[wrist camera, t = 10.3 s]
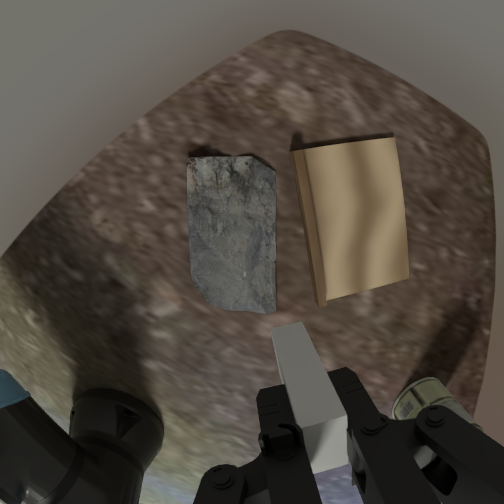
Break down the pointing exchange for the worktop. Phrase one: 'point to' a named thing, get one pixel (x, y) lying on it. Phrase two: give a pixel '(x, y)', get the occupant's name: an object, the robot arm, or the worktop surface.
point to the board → (352, 216)
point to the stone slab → (233, 232)
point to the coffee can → (427, 400)
